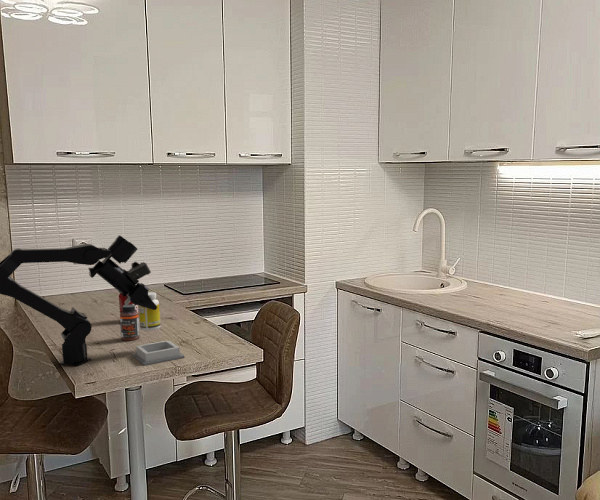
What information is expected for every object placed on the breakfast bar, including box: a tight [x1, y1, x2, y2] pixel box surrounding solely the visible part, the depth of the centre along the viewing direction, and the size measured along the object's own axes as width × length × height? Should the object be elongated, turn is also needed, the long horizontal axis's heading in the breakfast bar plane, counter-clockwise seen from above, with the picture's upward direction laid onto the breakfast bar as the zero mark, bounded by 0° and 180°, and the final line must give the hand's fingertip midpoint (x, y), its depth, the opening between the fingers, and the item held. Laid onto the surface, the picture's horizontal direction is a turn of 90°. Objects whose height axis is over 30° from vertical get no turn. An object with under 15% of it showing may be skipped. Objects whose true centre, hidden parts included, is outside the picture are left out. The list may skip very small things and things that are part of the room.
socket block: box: [131, 340, 185, 366], centre depth 172 cm, size 12×12×3 cm
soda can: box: [118, 293, 139, 318], centre depth 218 cm, size 7×7×12 cm
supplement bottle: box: [119, 305, 141, 342], centre depth 193 cm, size 6×6×11 cm
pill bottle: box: [138, 291, 161, 332], centre depth 178 cm, size 6×6×11 cm
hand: (153, 306), depth 179 cm, fingers closed on pill bottle, 6 cm apart
